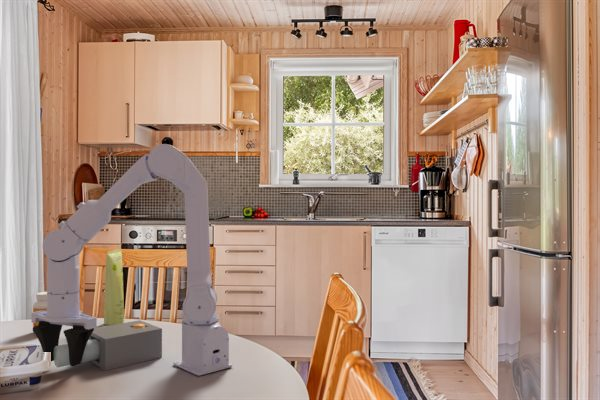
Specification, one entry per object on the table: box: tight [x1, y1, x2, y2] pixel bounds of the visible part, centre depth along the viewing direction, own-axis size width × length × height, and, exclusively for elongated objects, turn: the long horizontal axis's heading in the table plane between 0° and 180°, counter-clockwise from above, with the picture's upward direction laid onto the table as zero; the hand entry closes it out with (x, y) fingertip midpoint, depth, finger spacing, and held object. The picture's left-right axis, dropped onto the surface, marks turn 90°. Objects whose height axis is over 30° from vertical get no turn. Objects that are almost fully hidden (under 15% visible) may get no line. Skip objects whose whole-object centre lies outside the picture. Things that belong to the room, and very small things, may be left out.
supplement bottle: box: [32, 291, 47, 335], centre depth 129 cm, size 5×5×10 cm
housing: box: [89, 319, 163, 371], centre depth 108 cm, size 12×10×6 cm
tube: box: [103, 248, 125, 326], centre depth 138 cm, size 6×5×20 cm
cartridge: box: [53, 339, 100, 368], centre depth 104 cm, size 13×4×4 cm, turn 133°
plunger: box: [133, 324, 145, 329], centre depth 111 cm, size 2×2×3 cm
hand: (63, 362), depth 100 cm, fingers open, 6 cm apart
